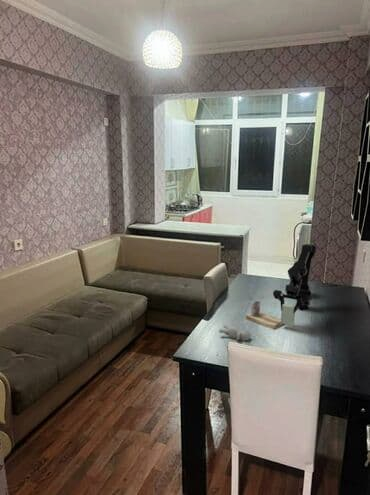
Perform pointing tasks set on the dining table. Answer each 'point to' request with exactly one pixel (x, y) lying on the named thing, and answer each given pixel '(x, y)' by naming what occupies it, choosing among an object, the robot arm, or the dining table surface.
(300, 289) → the robot arm
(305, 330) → the dining table surface
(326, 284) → the dining table surface
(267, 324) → the tan board with upright
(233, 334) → the bunny figurine
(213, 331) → the dining table surface
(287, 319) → the sage book
